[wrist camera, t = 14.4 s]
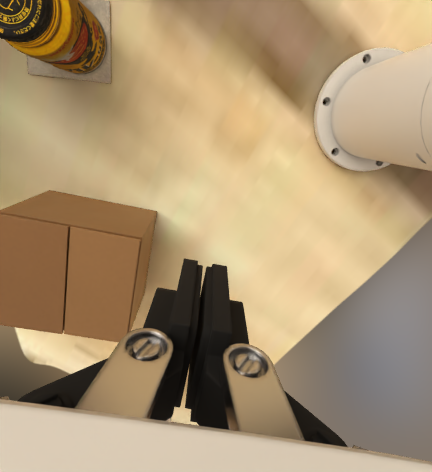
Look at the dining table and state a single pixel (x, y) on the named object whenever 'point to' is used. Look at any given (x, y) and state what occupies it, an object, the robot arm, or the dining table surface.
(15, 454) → the robot arm
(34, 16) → the condiment
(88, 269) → the flap
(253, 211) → the dining table surface
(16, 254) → the carton
